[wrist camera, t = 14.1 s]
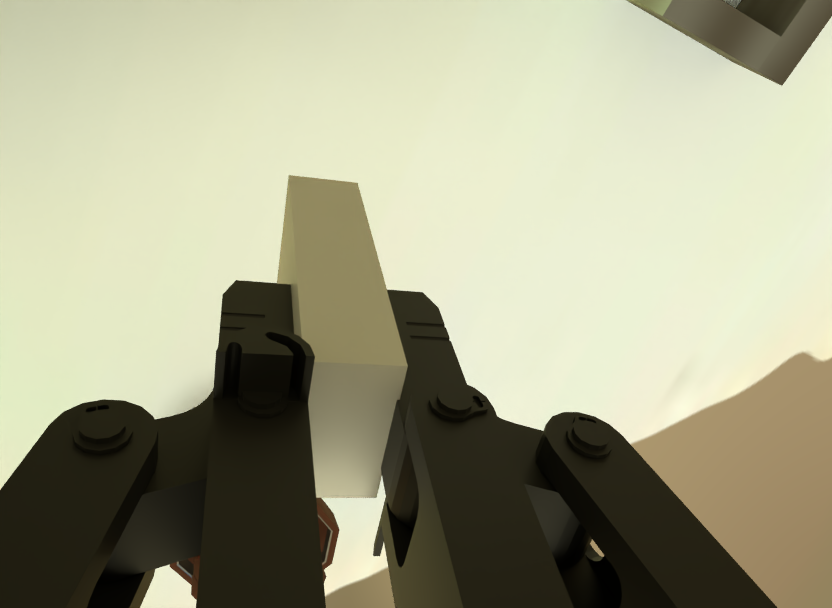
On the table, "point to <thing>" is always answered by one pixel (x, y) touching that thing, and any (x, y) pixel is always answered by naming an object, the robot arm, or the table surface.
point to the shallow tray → (748, 29)
